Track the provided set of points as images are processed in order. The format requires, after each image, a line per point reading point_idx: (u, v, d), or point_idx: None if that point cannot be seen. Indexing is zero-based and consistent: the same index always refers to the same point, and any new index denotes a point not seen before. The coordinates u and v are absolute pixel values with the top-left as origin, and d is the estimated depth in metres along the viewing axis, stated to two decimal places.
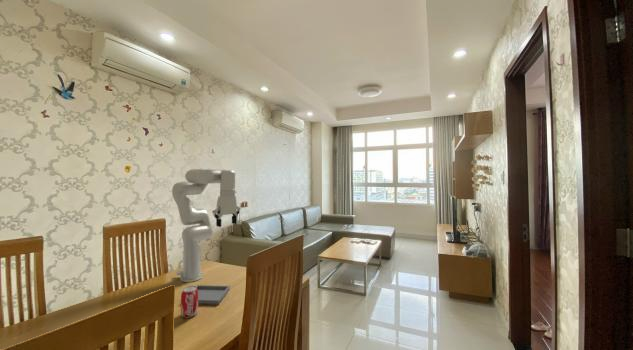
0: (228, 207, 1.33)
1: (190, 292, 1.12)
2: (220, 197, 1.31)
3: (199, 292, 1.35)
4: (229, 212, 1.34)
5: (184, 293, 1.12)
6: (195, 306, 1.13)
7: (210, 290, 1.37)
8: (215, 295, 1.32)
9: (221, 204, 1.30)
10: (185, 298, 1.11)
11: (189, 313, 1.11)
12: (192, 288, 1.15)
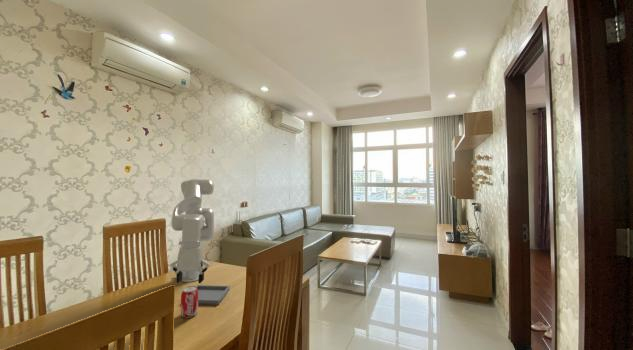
0: None
1: (190, 292, 1.12)
2: (201, 248, 1.15)
3: (199, 292, 1.35)
4: None
5: (184, 293, 1.12)
6: (195, 306, 1.13)
7: (210, 290, 1.37)
8: (215, 295, 1.32)
9: (202, 255, 1.16)
10: (185, 298, 1.11)
11: (189, 313, 1.11)
12: (192, 288, 1.15)
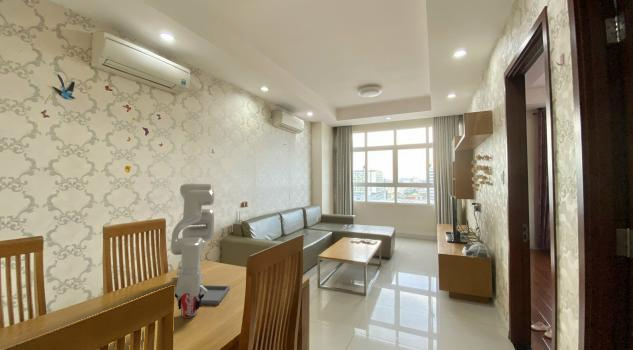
0: None
1: None
2: (200, 273, 1.15)
3: None
4: None
5: None
6: (195, 306, 1.13)
7: (210, 290, 1.37)
8: (215, 295, 1.32)
9: (201, 280, 1.16)
10: (185, 298, 1.11)
11: (189, 313, 1.11)
12: None
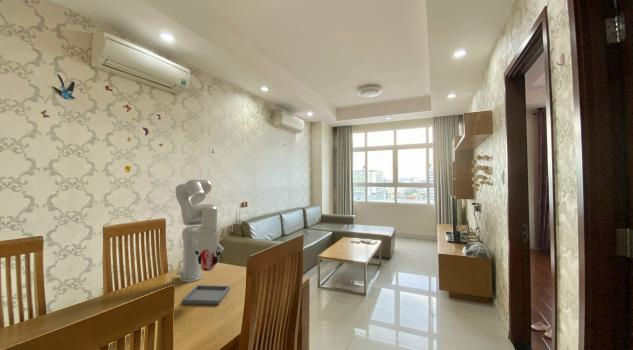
0: None
1: None
2: (217, 233, 1.32)
3: (199, 292, 1.35)
4: None
5: None
6: (213, 261, 1.30)
7: (210, 290, 1.37)
8: (215, 295, 1.32)
9: (218, 239, 1.33)
10: (205, 253, 1.28)
11: (208, 266, 1.28)
12: None
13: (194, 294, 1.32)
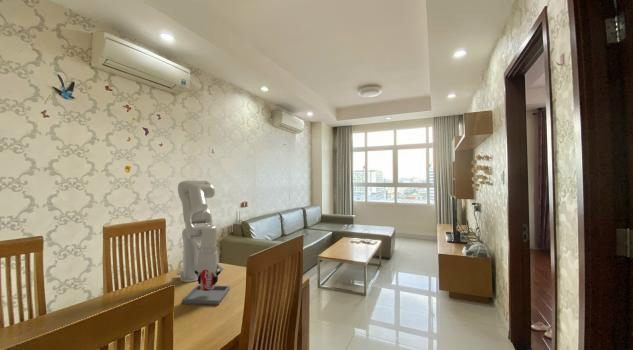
0: None
1: None
2: (217, 253, 1.32)
3: (199, 292, 1.35)
4: None
5: None
6: None
7: (210, 290, 1.37)
8: (215, 295, 1.32)
9: (218, 259, 1.33)
10: (204, 273, 1.28)
11: (207, 287, 1.28)
12: None
13: (194, 294, 1.32)
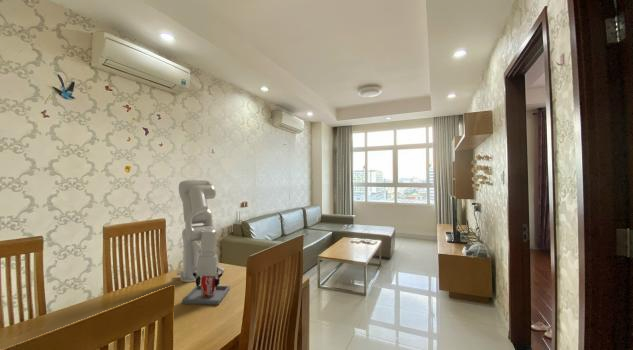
0: None
1: None
2: (217, 256, 1.32)
3: (199, 292, 1.35)
4: None
5: (204, 276, 1.29)
6: (213, 287, 1.31)
7: None
8: (215, 295, 1.32)
9: None
10: (205, 280, 1.28)
11: (208, 293, 1.29)
12: None
13: (194, 294, 1.32)
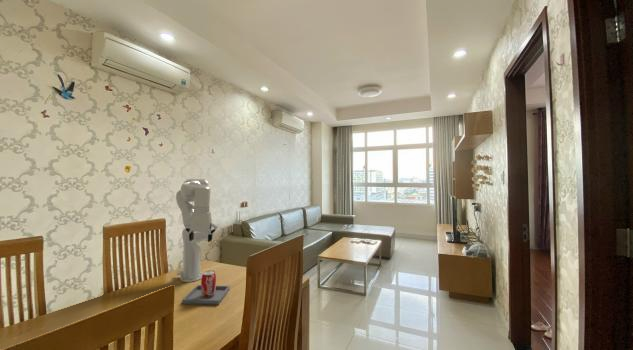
0: None
1: (209, 275, 1.29)
2: (210, 213, 1.35)
3: (199, 292, 1.35)
4: None
5: (204, 276, 1.29)
6: (214, 287, 1.31)
7: None
8: (215, 295, 1.32)
9: (211, 219, 1.36)
10: (205, 280, 1.28)
11: (208, 293, 1.29)
12: (210, 272, 1.33)
13: (194, 294, 1.32)
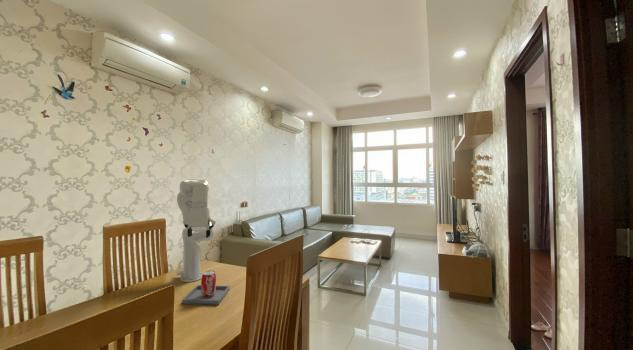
0: None
1: (209, 275, 1.29)
2: (208, 208, 1.36)
3: (199, 292, 1.35)
4: None
5: (204, 276, 1.29)
6: (214, 287, 1.31)
7: None
8: (215, 295, 1.32)
9: (209, 215, 1.37)
10: (205, 280, 1.28)
11: (208, 293, 1.29)
12: (211, 272, 1.33)
13: (194, 294, 1.32)
